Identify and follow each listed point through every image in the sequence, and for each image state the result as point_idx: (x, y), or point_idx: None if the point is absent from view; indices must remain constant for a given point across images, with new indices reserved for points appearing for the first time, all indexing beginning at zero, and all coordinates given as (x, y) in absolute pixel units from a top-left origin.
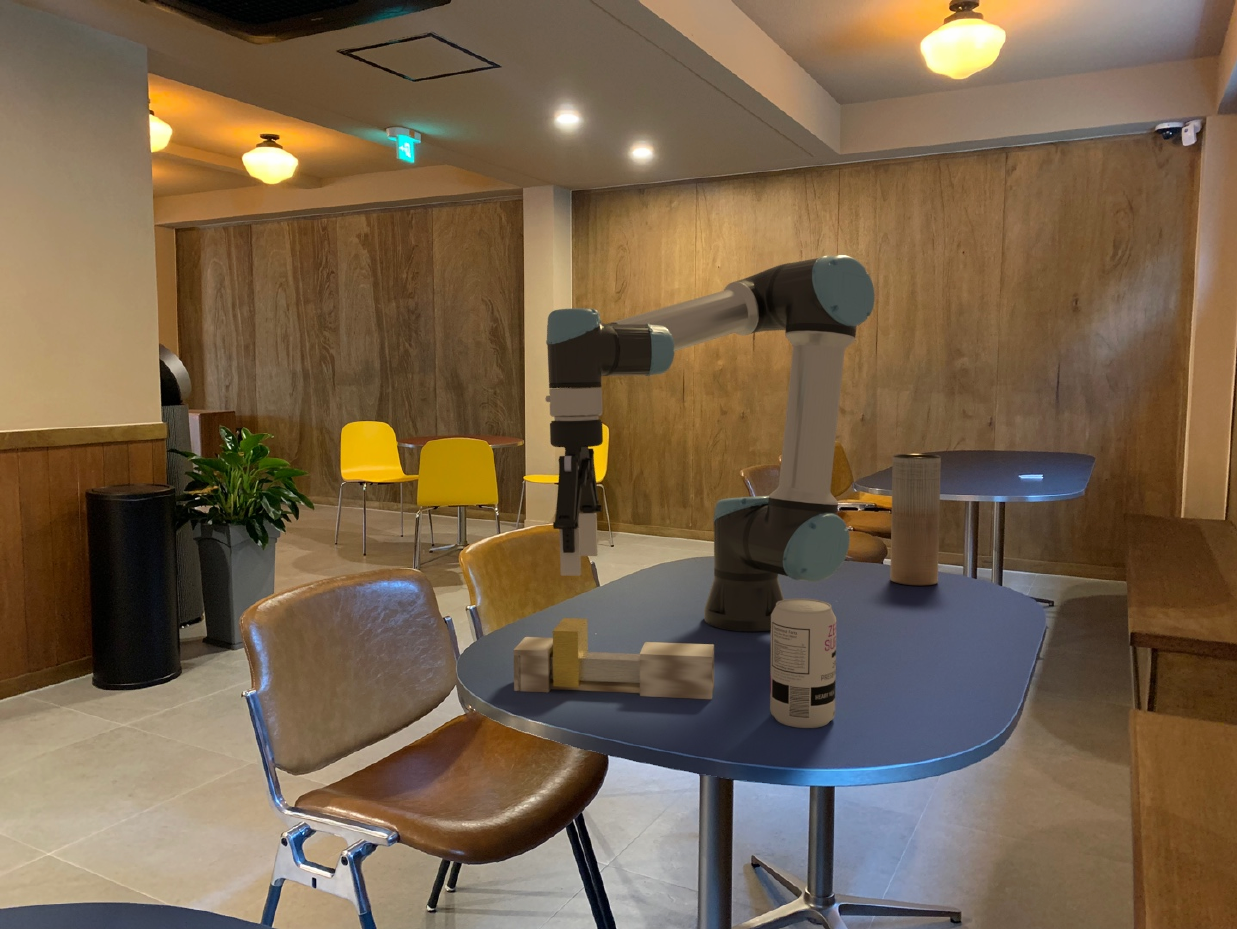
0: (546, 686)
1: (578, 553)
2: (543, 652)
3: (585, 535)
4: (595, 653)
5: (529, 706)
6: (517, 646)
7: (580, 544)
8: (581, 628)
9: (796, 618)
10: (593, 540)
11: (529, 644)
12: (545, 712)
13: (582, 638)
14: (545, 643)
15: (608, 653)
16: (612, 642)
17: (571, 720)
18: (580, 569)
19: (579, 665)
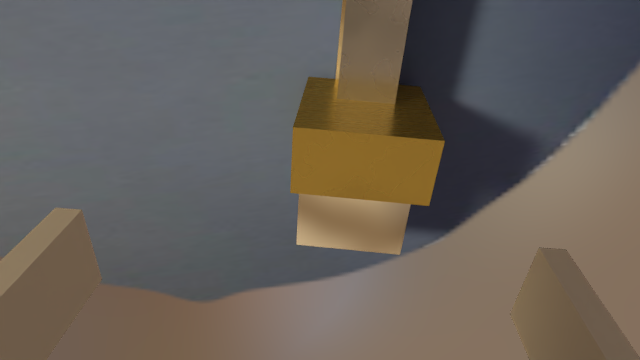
0: None
1: (627, 348)
2: None
3: (26, 343)
4: (351, 70)
5: (480, 166)
6: (375, 250)
7: (69, 320)
8: (388, 133)
9: None
10: (31, 283)
11: (358, 230)
12: (518, 134)
13: (372, 119)
14: (349, 199)
15: (349, 33)
16: (14, 37)
17: (576, 79)
18: (563, 268)
19: (413, 101)
